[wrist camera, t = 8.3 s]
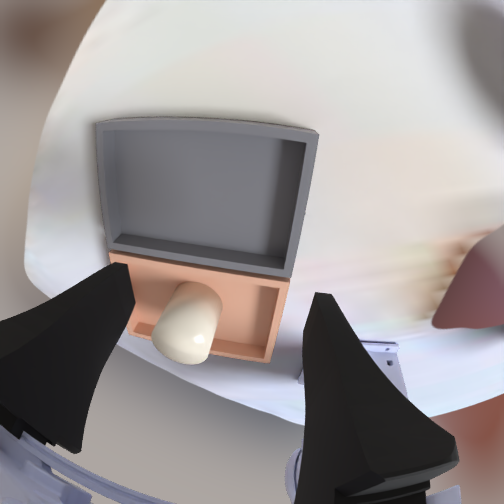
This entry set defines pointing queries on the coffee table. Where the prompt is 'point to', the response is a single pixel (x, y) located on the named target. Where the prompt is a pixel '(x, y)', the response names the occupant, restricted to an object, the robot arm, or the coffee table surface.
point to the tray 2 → (229, 290)
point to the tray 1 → (206, 190)
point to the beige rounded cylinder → (188, 323)
